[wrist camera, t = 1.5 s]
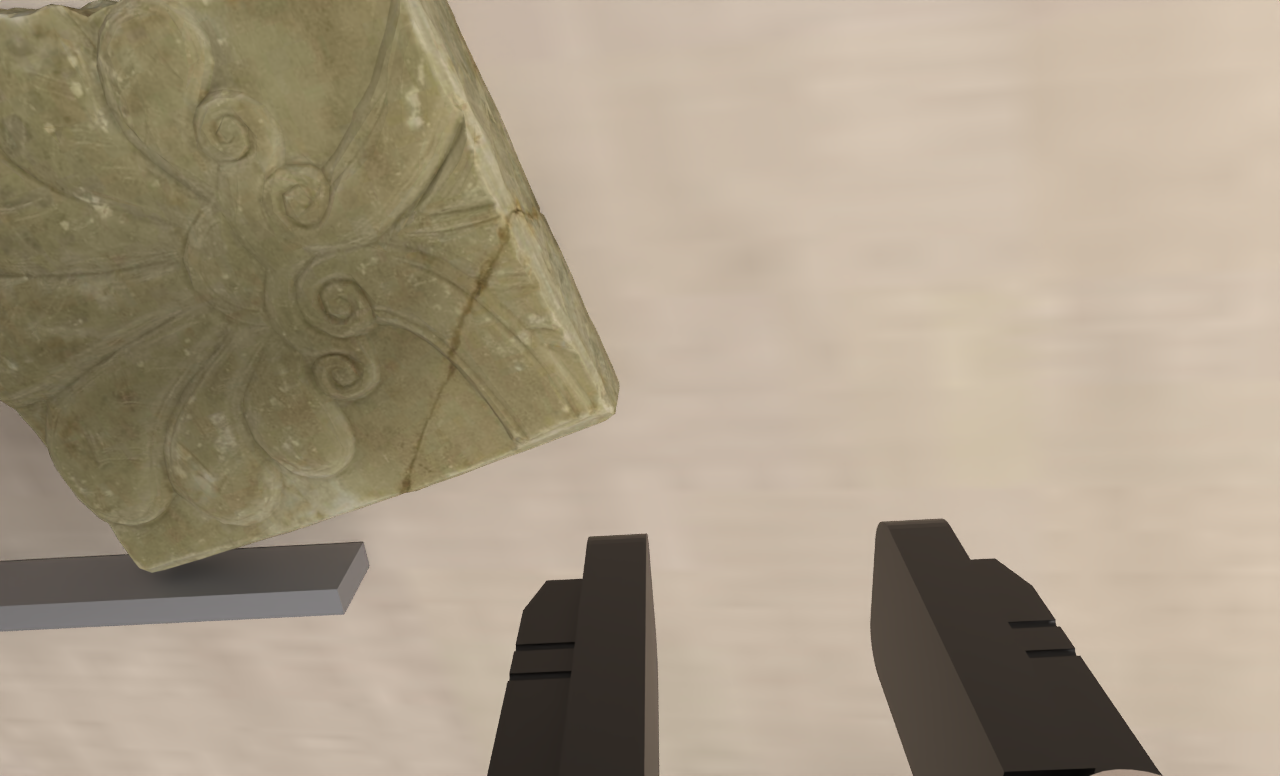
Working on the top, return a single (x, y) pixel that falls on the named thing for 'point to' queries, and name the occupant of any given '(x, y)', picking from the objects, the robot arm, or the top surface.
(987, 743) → the robot arm
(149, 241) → the decorative tile
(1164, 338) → the top surface
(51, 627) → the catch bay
